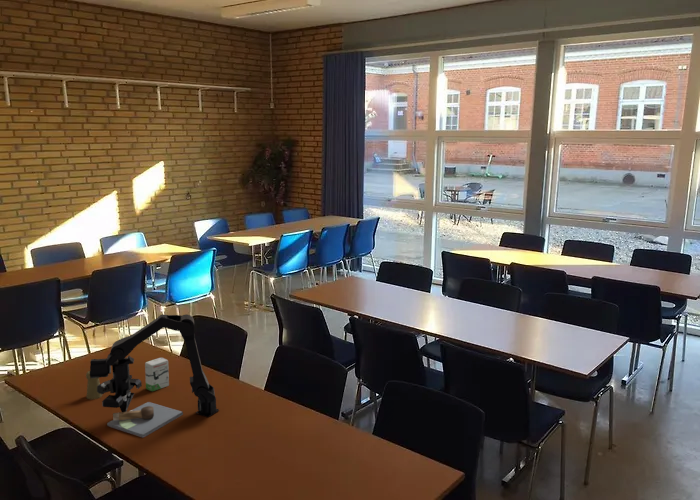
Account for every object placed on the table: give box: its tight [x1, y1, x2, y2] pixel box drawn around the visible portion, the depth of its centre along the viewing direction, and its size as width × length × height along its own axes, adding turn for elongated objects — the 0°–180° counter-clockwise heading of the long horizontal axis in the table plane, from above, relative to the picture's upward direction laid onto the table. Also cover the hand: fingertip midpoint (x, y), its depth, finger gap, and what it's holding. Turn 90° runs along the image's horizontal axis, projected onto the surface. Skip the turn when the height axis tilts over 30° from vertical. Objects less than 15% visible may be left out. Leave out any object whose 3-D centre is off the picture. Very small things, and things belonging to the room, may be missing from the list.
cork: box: [85, 370, 103, 400], centre depth 234 cm, size 6×6×11 cm
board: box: [107, 401, 184, 438], centre depth 216 cm, size 18×20×1 cm
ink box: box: [144, 357, 170, 392], centre depth 244 cm, size 9×5×12 cm, turn 143°
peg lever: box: [112, 406, 154, 420], centre depth 213 cm, size 14×4×3 cm, turn 105°
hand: (124, 413), depth 214 cm, fingers closed
